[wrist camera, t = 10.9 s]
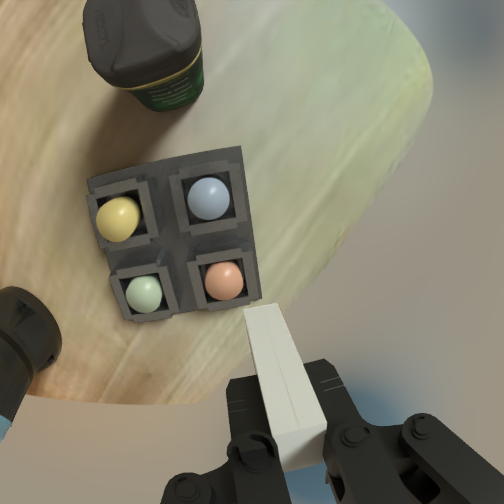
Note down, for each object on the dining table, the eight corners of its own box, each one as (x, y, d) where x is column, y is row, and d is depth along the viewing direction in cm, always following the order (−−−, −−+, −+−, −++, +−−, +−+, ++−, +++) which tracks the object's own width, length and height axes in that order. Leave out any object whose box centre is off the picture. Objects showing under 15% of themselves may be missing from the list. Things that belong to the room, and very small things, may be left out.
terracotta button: (209, 291, 38) (209, 303, 35) (202, 260, 36) (201, 270, 33) (242, 285, 38) (245, 296, 35) (237, 253, 36) (240, 263, 33)
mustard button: (110, 236, 31) (102, 245, 29) (101, 200, 30) (91, 206, 27) (144, 229, 32) (139, 237, 29) (136, 191, 30) (129, 197, 27)
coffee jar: (212, 98, 31) (215, 50, 13) (147, 119, 30) (85, 99, 13) (191, 30, 27) (180, -57, 10) (129, 51, 27) (67, -14, 9)
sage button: (136, 303, 37) (132, 315, 34) (126, 273, 35) (121, 284, 32) (167, 298, 37) (164, 310, 34) (158, 267, 35) (155, 278, 33)
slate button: (193, 216, 34) (191, 223, 31) (186, 179, 32) (184, 183, 29) (230, 209, 34) (232, 216, 31) (224, 172, 32) (226, 175, 30)
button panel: (130, 316, 39) (124, 331, 35) (89, 178, 31) (77, 182, 28) (261, 295, 40) (265, 309, 37) (240, 145, 33) (243, 145, 30)
